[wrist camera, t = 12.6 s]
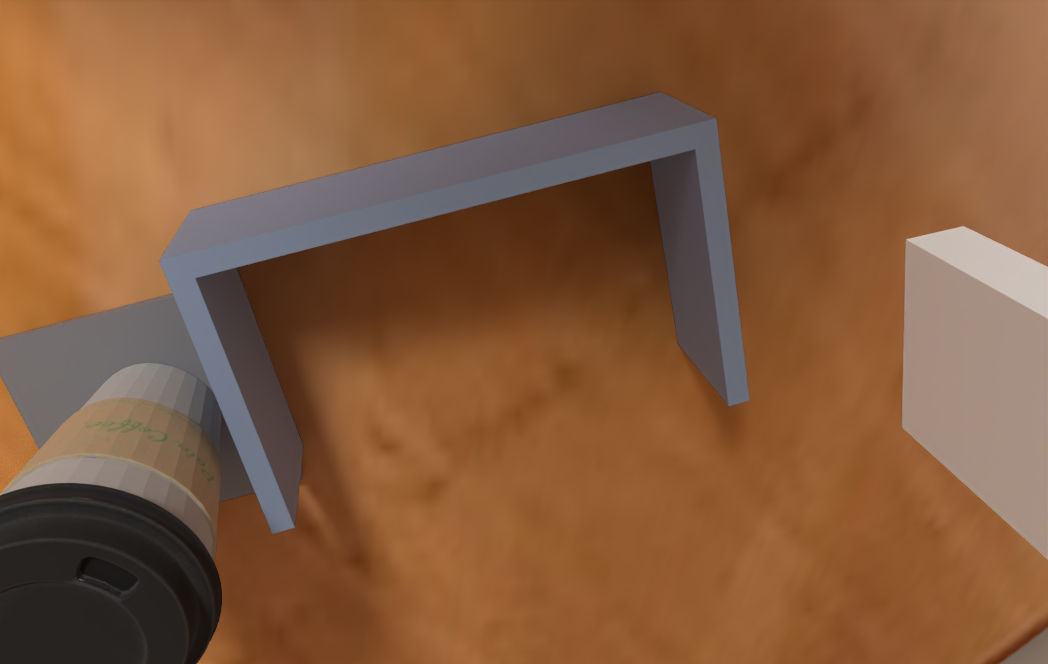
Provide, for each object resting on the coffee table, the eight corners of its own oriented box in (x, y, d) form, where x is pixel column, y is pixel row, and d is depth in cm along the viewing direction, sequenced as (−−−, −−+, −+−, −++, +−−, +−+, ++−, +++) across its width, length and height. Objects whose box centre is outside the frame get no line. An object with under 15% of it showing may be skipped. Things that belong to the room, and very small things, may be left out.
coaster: (-11, 340, 40) (-16, 346, 40) (228, 279, 41) (227, 283, 41) (89, 531, 45) (86, 539, 44) (303, 473, 46) (302, 479, 45)
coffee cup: (265, 338, 42) (221, 526, 28) (251, 507, 45) (206, 746, 32) (47, 317, 40) (-114, 510, 26) (49, 496, 43) (-91, 748, 30)
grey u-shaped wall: (190, 210, 40) (159, 260, 33) (660, 91, 41) (716, 118, 35) (284, 451, 45) (272, 534, 39) (696, 339, 47) (749, 400, 40)
